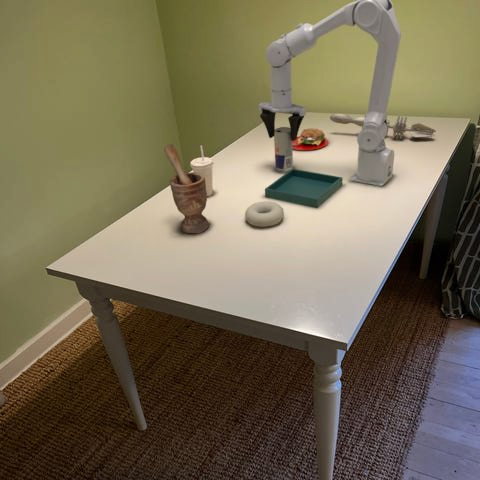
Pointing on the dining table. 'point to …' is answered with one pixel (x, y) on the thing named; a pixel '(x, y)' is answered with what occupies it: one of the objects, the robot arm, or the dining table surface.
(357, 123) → the cutlery set
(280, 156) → the energy drink
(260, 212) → the donut
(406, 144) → the dining table surface
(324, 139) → the hamburger
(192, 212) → the mortar and pestle
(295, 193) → the tray
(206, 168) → the smoothie
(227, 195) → the dining table surface
